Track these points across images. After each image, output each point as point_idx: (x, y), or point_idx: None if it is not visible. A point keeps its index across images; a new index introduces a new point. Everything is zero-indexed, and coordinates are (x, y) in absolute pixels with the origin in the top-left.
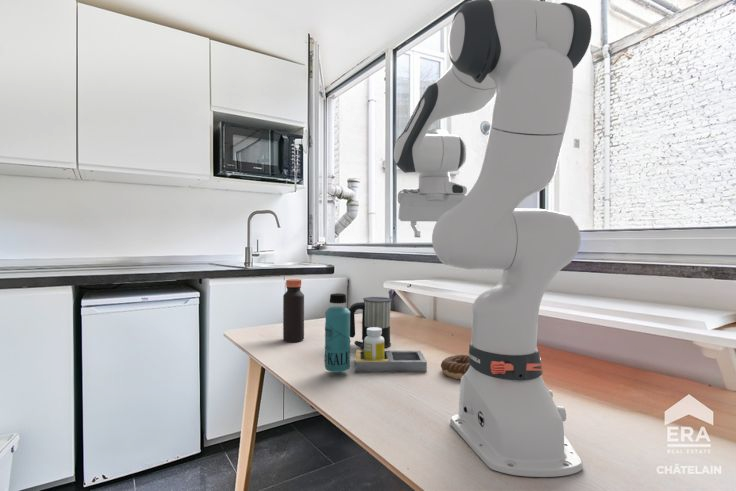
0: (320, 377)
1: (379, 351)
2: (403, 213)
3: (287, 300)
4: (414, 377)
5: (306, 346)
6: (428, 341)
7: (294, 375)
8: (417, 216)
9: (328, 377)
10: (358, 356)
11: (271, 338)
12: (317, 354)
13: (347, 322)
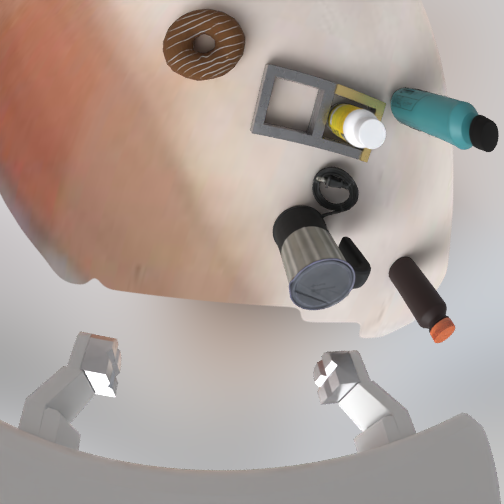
0: None
1: (351, 106)
2: (481, 446)
3: (442, 299)
4: (296, 48)
5: (398, 237)
6: (193, 236)
7: None
8: (410, 467)
9: None
10: None
11: None
12: (399, 197)
13: (446, 101)
